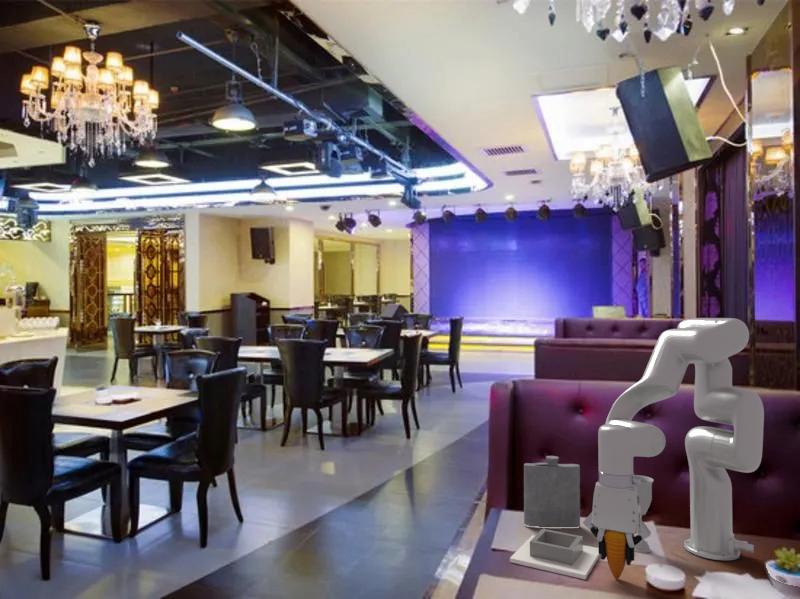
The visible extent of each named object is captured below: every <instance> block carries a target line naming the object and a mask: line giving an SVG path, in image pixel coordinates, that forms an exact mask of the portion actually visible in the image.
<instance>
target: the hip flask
mask: <svg viewBox="0 0 800 599" xmlns="http://www.w3.org/2000/svg"><path fill="white" fill-rule="evenodd" d="M545 460H546V462H533V463H530V462H529V463H528V462H525V463H524V464H523V525H524V524H526V525H529V526H539V527H578V526H580V527H581V488H580V487H581V486H580V484H581V474H580V471H581V466H580V464H577V463H559V460H560V457H559V456H555V455H547V456H545Z"/></svg>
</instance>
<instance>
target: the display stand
mask: <svg viewBox="0 0 800 599" xmlns="http://www.w3.org/2000/svg"><path fill="white" fill-rule="evenodd" d="M600 557H601V554H599V547H595V546H591V545H586V544H585V545H584V536H583V535H577V534H573V533H572V534H571V533H568V532H566V533H565V532H563V531H562V532H561V531H555V530H553V529H540V530H539V531H538V533H537V534H536V535H535V534H531V536H529V538H528V539H527V540H526V541H524V543H523V544H522V545H521V546H520V547H519V548H518V549H517V550H516V551H515V552H514V553H513V554H512V555H511V556H510V557H509V563H510V564H511V563H512V564H516V565H521V566H526V567H529V568H534V569H537V570H542V571H546V572H551V573H554V574H555V573H556V574H559V575H564V576H567V577H568V576H569V577H573V578H577V579H582V580H586V579H587V578H588V577H589V575H590V573H591V572H592V570H593V569H594V566H595V565H596V563H597V561H598V559H599V558H600Z"/></svg>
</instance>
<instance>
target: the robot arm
mask: <svg viewBox="0 0 800 599" xmlns="http://www.w3.org/2000/svg"><path fill="white" fill-rule="evenodd" d="M749 339H750V332H749V328H748V326H747V324H746V323H745V322H744V321H742V320H741V319H738V318H734V317H732V318H731V317H695V318H694V317H693V318H687V319H683V320H682V321H680V322H679V323H678V324H677V328H670V329H667V330H664V331H663V332H661V333H660V335H659V337H658V339H657V341H656V343H655V345H654V348H653V350H652V352H651V355H650V358H649V360H648V362H647V365H646V368H645V370H644V372H643V375H642V377H641V378H640V379H639V380H638V381H637V382H635V383H634V384H633V385H631V386H629V388H627V389H626V390H625V391H624V392H623V393H622V394H620V396H618V397H617V398H616V400H615V401H614V403H613V404H612V406H611V408H610V410H609V412H608V415H607V417H606V419H605V420H606V421H605V423H604V424H603V425H601V426H599V428H598V431H597V433H598V435H597V439H598V440H597V443H598V445H597V446H598V447H597V448H598V451H597V452H598V453H597V454H598V457H597V458H598V459H597V460H598V462H597V463H598V465H597V466H598V470H597V471H598V473H597V474H598V480H597V482H595V485H594V486H595V487H594V491H593V497H592V498H593V499H592V509H591V510H592V511H591V512H590V513H589V514H588V516H586V518H585V519H584V520H583V521H582V523H583V525H584V526H585V527H586V528H587V529H588V530H590V532H591V533H592V535H594V537H595V538H596V540H597V542H598V548H599V554H601V555H600V559H601V560H603V561H604V560H605V559H607V556H606V550H605V530H610V531H616V532H621V533H625V534H626V538H627V541H628V545H627V547H626V563H625V565H627V566H631V564H632V562H634V561H635V551H634V546H635V545H637V544H638V543H639V542H640V541H641V540H643V539H645V540H646V539H647V538H649V537H650V536H651V534H652V533H651V531H650V530H649V528H648V526H647V525H646V524H645V522H644V521H643V519H642V520H641V512H640V501H639V494H638V489H637V487H636V486H633V485H634V484H640V478H637V477H635V475H636V474H635V473H634V457H641V458H642V457H643V458H644V457H645V458H652V457H655V456H658V455H660V454H661V453H662V452H663V450H664V449H665V448H666V444H667V443H666V442H667V441H666V439H667V438H666V435H665V433H664V432H663V431H662V429H661V428H659V427H657V426H655V425H653V424H650V423H645V422H641V421H634V420H632V419H634V417H635V416H636V414H637V413H638V412H639V411H641V409H643V408H645V407H647V406H649V405H651V404H654V403H657V402H658V403H659V402H661V401H664V400H666V399H669V398H672V397H674V396H676V395H677V393H678V392H679V390H680V387H681V384H682V381H683V379H684V376H685V374H686V372H687V369H688V366H689V365H690V364H694V367H695V368H694V371H695V373H694V374H695V375H694V376H695V377H694V393H693V394H694V395H693V410H694V413H695V415H696V416H697V417H698V418H699V419H700V420H703V421H706V422H711V423H717V424H721V425H729V426H732V427H733V430H729V429H724V428H719V427H713V426H705V425H704V426H702V425H701V426H699V425H698V426H695V427H693V428H691V429H690V430H689V431H687V434H686V435H685V439H684V446H685V452H686V456H687V462H688V467H689V468H688V470H689V501H690V502H689V507H690V509H689V511H690V512H689V513H690V514H689V515H690V522H689V523H690V537H689V538H687V539H685V540H684V542H683V546H684V548H685V550H687V551H688V552H689V553H692V554H693V555H695V556H698V557H701V558H705V559H709V560H713V561H724V562H725V561H734V560H735V561H736V560H737V559H739V558H740V556H741V551H743V552H746V553H752V554H755V551H754V550H755V549H754V548H755V546H754V544H751V543H749V542H748V541H744V540H738V538H735V533H733V487H732V481H731V478H730V476H729V474H728V472H727V470H730V471H734V472H740V473H746V474H748V473H749V474H750V473H753V472H755V471H756V470H758V468H759V467H760V465H761V462H762V458H763V445H764V443H763V442H764V427H765V426H764V422H765V411H764V409H765V408H764V404H763V401H762V398H761V397H760V396H759V395H758V393H757V392H755V391H754V390H752V389H750V388H749V389H748V388H744V387H743V388H741V387H733V367H732V364H731V362H730V359H729V357H732V356H734V355H736V354H738V353H740V352H741V351H743V350H744V349H745V347H746V346H747V345H748V342H749ZM639 528H640V530H641V531H642V532H641V533H640V534H638V529H639Z"/></svg>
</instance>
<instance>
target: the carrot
mask: <svg viewBox="0 0 800 599" xmlns="http://www.w3.org/2000/svg"><path fill="white" fill-rule="evenodd" d="M627 545H628V541H627V538H626V534H625V533H621V532H616V531H610V530H605V550H606V560H607V565H608V567H609V570H610V572H611V574H612V576H613V578H614V579H615V580H619V579H620V578H621V576H622V573H623V572H624V569H625V567H626V547H627Z"/></svg>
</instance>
